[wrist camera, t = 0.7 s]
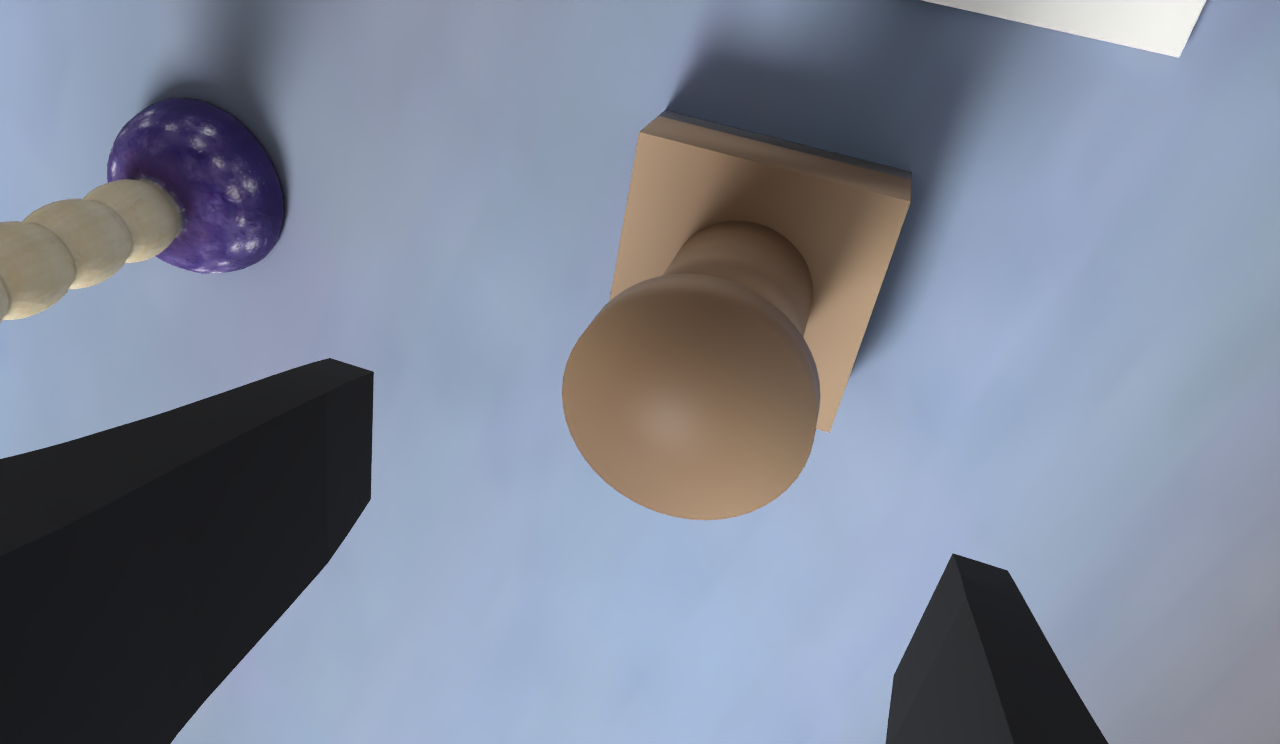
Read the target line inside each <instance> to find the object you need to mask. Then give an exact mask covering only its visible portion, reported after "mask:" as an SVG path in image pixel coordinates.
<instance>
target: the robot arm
mask: <svg viewBox="0 0 1280 744" xmlns="http://www.w3.org/2000/svg"><path fill="white" fill-rule="evenodd" d="M373 376H374V372H372V371H369V370H366V369H363V368H360V367H357V366H353V365H350V364H347V363H344V362H341V361H337V360H334V359H331V358H329V359H325V360H321V361H317V362H314V363H310V364H307V365H303V366H300V367H297V368H294V369H291V370H288V371H285V372H282V373H279V374H276V375H273V376H270V377H267V378H264V379H261V380H258V381H255V382H252V383H250V384H247V385H244V386H241V387H238V388H235V389H232V390H229V391H226V392H223V393H220V394H218V395H215V396H212V397H209V398H206V399H203V400H200V401H197V402H194V403H191V404H188V405H185V406H182V407H179V408H176V409H173V410H170V411H167V412H164V413H161V414H158V415H155V416H152V417H148V418H145V419H142V420H138V421H135V422H132V423H128V424H125V425H122V426H119V427H115V428H112V429H109V430H105V431H102V432H99V433H95V434H92V435H89V436H85V437H82V438H79V439H75V440H72V441H69V442H65V443H62V444H58V445H54V446H51V447H47V448H43V449H39V450H35V451H32V452H28V453H24V454H20V455H16V456H12V457H8V458H3V459H0V744H170V743H171V742H172V741H173V739H174V738H175V737H176V735H177V734H178V733H179V732H180V730H181V729H182V728H183V727H184V726H185V724H186V723H187V722H188V721H189V720H190V718H191V717H192V716H193V715H194V713H195V712H196V711H197V710H198V709H199V707H200V706H201V705H202V704H203V703H204V701H205V700H206V699H207V698H208V697H209V696H210V695H211V694H212V692H213V691H214V690H215V689H216V688H217V687H218V686H219V685H220V684H221V682H222V681H223V680H224V679H225V678H226V677H227V676H228V675H229V674H230V672H231V671H232V670H233V669H234V668H235V667H236V666H237V665H238V663H239V662H240V661H241V660H242V659H243V658H244V657H245V656H246V655H247V653H248V652H249V651H250V650H251V649H252V648H253V647H254V646H255V645H256V643H257V642H258V641H259V640H260V639H261V638H262V637H263V636H264V635H265V633H266V632H267V631H268V630H269V629H270V628H271V627H272V626H273V625H274V623H275V622H276V621H277V620H278V619H279V618H280V617H281V616H282V615H283V613H284V612H285V611H286V610H287V609H288V608H289V607H290V605H291V604H292V603H293V602H294V601H295V600H296V599H297V598H298V596H299V595H300V594H301V593H302V592H303V591H304V590H305V588H306V587H307V586H308V585H309V584H310V583H311V582H312V581H313V579H314V578H315V577H316V576H317V575H318V574H319V572H320V571H321V570H322V569H323V568H324V567H325V565H326V564H327V563H328V562H329V560H330V559H331V557H332V556H333V555H334V553H335V552H336V550H337V549H338V547H339V546H340V545H341V543H342V542H343V540H344V539H345V537H346V536H347V535H348V533H349V532H350V530H351V529H352V527H353V525H354V524H355V522H356V521H357V519H358V518H359V516H360V515H361V513H362V512H363V510H364V509H365V507H366V506H367V504H368V502H369V501H370V499H371V463H372V420H373ZM886 744H1108V742H1107V741H1106V739H1105V737H1104V736H1103V734H1102V733H1101V731H1100V729H1099V728H1098V726H1097V725H1096V723H1095V721H1094V720H1093V718H1092V716H1091V715H1090V713H1089V711H1088V710H1087V708H1086V706H1085V705H1084V703H1083V701H1082V700H1081V698H1080V696H1079V695H1078V693H1077V691H1076V690H1075V688H1074V686H1073V685H1072V683H1071V681H1070V679H1069V678H1068V676H1067V674H1066V673H1065V671H1064V669H1063V667H1062V666H1061V664H1060V662H1059V660H1058V659H1057V657H1056V655H1055V653H1054V652H1053V650H1052V648H1051V646H1050V645H1049V643H1048V641H1047V639H1046V638H1045V636H1044V634H1043V632H1042V630H1041V629H1040V627H1039V625H1038V623H1037V621H1036V620H1035V618H1034V616H1033V614H1032V613H1031V611H1030V609H1029V607H1028V605H1027V604H1026V602H1025V600H1024V598H1023V596H1022V595H1021V593H1020V591H1019V589H1018V587H1017V586H1016V584H1015V582H1014V581H1013V579H1012V577H1011V575H1010V574H1009V572H1008V571H1007V570H1004V569H1001V568H998V567H995V566H991V565H988V564H985V563H982V562H979V561H975V560H972V559H969V558H966V557H963V556H959V555H956V554H952V556H951V558H950V560H949V562H948V564H947V566H946V569H945V571H944V573H943V575H942V577H941V579H940V581H939V583H938V585H937V587H936V589H935V591H934V593H933V595H932V598H931V600H930V602H929V604H928V606H927V608H926V610H925V612H924V614H923V616H922V618H921V620H920V622H919V624H918V626H917V629H916V631H915V633H914V635H913V637H912V639H911V641H910V643H909V645H908V647H907V649H906V651H905V653H904V655H903V658H902V660H901V662H900V664H899V666H898V668H897V670H896V672H895V674H894V679H893V687H892V695H891V703H890V711H889V719H888V728H887V737H886Z"/></svg>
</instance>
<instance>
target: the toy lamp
mask: <svg viewBox="0 0 1280 744" xmlns="http://www.w3.org/2000/svg"><path fill="white" fill-rule="evenodd" d="M107 166H108V167H107V179H108V183H106V184H104V185H101V186H99V187H97V188H95V189H94V190H92V191H91V192H89V193H88V194H87V195H86V196H85V197H84V199H67V200H61V201H57V202H53V203H50V204H48V205H45V206H43V207H41V208H39V209H37V210H35V211H33V212H32V213H31V214H30V215H29V216H27V217H26V218H25V219H24V220H23V221H22V222H18V221H14V222H1V223H0V322H1V321H2V320H14V319H21V318H25V317H29V316H32V315H35V314H37V313H40V312H42V311H44V310H46V309H48V308H49V307H51V306H52V305H54V304H56V303H57V302H58V301H59V300H60V299H61V298H62V297H63V296H64V295H65V294H66V293H67V291H68V289H80V288H85V287H89V286H93V285H96V284H98V283H100V282H103V281H105V280H106V279H108V278H109V277H111V276H113V275H114V274H115V273H116V272H117V271H118V270H119V269H120V268H121V267H122V266H123V265H124V264H125V263H133V262H140V261H143V260H147V259H150V258H152V257H154V256H156V257H158V258H159V259H161V260H163V261H164V262H167V263H169V264H171V265H173V266H176V267H179V268H183V269H186V270H190V271H193V272H199V273H205V274H206V273H224V272H231V271H236V270H240V269H244V268H246V267H248V266H251V265H253V264H255V263H257V262H259V261H260V260H262V259H263V258H264V257H266V255H267V254H268V253H269V252H270V251H271V250H272V248H273V247H274V245H275V244H276V242H277V240H278V238H279V234H280V231H281V226H282V222H283V218H284V212H283V195H282V192H281V188H280V182H279V180H278V178H277V174H276V172H275V170H274V168H273V165H272V163H271V161H270V159H269V157H268V156H267V154H266V152H265V150H264V149H263V148H262V146H261V145H260V144H259V142H258V141H257V140H256V138H255V137H254V136H253V135H252V134H251V132H249V131H248V130H247V129H246V128H245V127H244V126H243V125H242V124H241V123H240V122H238V121H237V120H236V119H235V118H233V117H232V116H231V115H230V114H229V113H227V112H225V111H222V110H221V109H219V108H216V107H214V106H212V105H210V104H208V103H206V102H203V101H199V100H195V99H189V98H170V99H167V100H164V101H161V102H158V103H155V104H153V105H151V106H149V107H147V108H145V109H144V110H143V111H141V112H140V113H138V114H137V115H135V116H134V117H133V118H132V119H131V120H130V121H129V122H127V124H126V125H125V126H124V127H123V128H122V130H121V131H120V132H119V134H118V136H117V137H116V139H115V142H114V144H113V147H112V149H111V152H110V155H109V160H108V164H107Z"/></svg>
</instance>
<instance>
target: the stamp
mask: <svg viewBox="0 0 1280 744" xmlns="http://www.w3.org/2000/svg"><path fill="white" fill-rule="evenodd" d="M910 203H911V172H909V171H905V170H901V169H897V168H893V167H889V166H885V165H881V164H877V163H873V162H869V161H865V160H861V159H857V158H853V157H849V156H845V155H841V154H837V153H833V152H829V151H825V150H821V149H817V148H813V147H809V146H805V145H801V144H797V143H793V142H789V141H785V140H781V139H777V138H773V137H769V136H765V135H761V134H757V133H754V132H750V131H746V130H742V129H738V128H734V127H730V126H726V125H722V124H718V123H714V122H710V121H706V120H702V119H698V118H694V117H690V116H686V115H682V114H678V113H674V112H670V111H666V110H665V111H664V112H662V113H661V114H660V115H659V116H658V117H656V118H655V119H654V120H653V121H652V122H651V123H649V124H648V125H647V126H646V127H645V128H644V129H642V130H641V131H640V132H639V137H638V143H637V148H636V154H635V160H634V165H633V171H632V177H631V183H630V188H629V194H628V200H627V205H626V211H625V217H624V222H623V228H622V234H621V239H620V245H619V251H618V256H617V262H616V268H615V273H614V279H613V285H612V290H611V296H610V302H608V303H607V304H606V305H605V306H604V307H603V309H602V310H601V311H600V312H599V313H598V315H597V316H596V317H595V318H594V320H593V321H592V322H591V324H590V325H589V326H588V328H587V329H586V330H585V331H584V333H583V334H582V335H581V337H580V338H579V339H578V341H577V343H576V344H575V346H574V348H573V350H572V351H571V354H570V356H569V359H568V361H567V364H566V368H565V372H564V376H563V386H562V399H563V409H564V414H565V418H566V422H567V425H568V428H569V431H570V434H571V436H572V438H573V440H574V442H575V444H576V446H577V448H578V449H579V451H580V452H581V454H582V455H583V457H584V459H585V460H586V461H587V462H588V464H589V465H590V466H591V467H592V469H593V470H594V471H595V472H596V473H597V474H598V475H599V476H600V477H601V478H602V479H603V480H604V481H605V482H606V483H607V484H609V485H610V486H611V487H613V488H614V489H615V490H616V491H618V492H619V493H621V494H622V495H624V496H625V497H627V498H629V499H630V500H632V501H634V502H636V503H638V504H640V505H642V506H644V507H646V508H648V509H651V510H654V511H656V512H659V513H662V514H666V515H670V516H674V517H679V518H685V519H693V520H717V519H725V518H731V517H737V516H740V515H743V514H746V513H750V512H752V511H754V510H757V509H759V508H761V507H763V506H765V505H767V504H768V503H770V502H771V501H773V500H775V499H776V498H777V497H779V496H780V495H781V494H782V493H783V492H785V491H786V490H787V489H788V488H789V487H790V486H791V484H792V483H793V482H794V481H795V480H796V479H797V477H798V476H799V474H800V473H801V471H802V469H803V468H804V466H805V464H806V462H807V459H808V457H809V455H810V452H811V448H812V444H813V441H814V436H815V431H816V429H819V430H822V431H826V432H829V433H830V430H831V427H832V424H833V422H834V419H835V416H836V413H837V410H838V407H839V405H840V402H841V399H842V396H843V393H844V390H845V387H846V385H847V382H848V379H849V376H850V373H851V370H852V368H853V365H854V362H855V359H856V356H857V353H858V350H859V348H860V345H861V342H862V339H863V336H864V333H865V331H866V328H867V325H868V322H869V319H870V316H871V313H872V311H873V308H874V305H875V302H876V299H877V296H878V294H879V291H880V288H881V285H882V282H883V279H884V277H885V274H886V271H887V268H888V265H889V262H890V259H891V257H892V254H893V251H894V248H895V245H896V242H897V240H898V237H899V234H900V231H901V228H902V225H903V222H904V220H905V217H906V214H907V211H908V208H909V205H910Z"/></svg>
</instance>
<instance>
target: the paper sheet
mask: <svg viewBox="0 0 1280 744" xmlns="http://www.w3.org/2000/svg"><path fill="white" fill-rule="evenodd" d="M922 1H927V2H931V3H936V4H940V5H945V6H949V7H954V8H958V9H963V10H967V11H972V12H976V13H981V14H985V15H990V16H994V17H999V18H1003V19H1008V20H1012V21H1017V22H1021V23H1026V24H1030V25H1035V26H1039V27H1044V28H1048V29H1053V30H1057V31H1062V32H1066V33H1071V34H1075V35H1080V36H1084V37H1089V38H1093V39H1098V40H1102V41H1107V42H1111V43H1116V44H1120V45H1125V46H1129V47H1134V48H1138V49H1143V50H1147V51H1152V52H1156V53H1161V54H1165V55H1170V56H1174V57H1180V55H1181V52H1182V50H1183V48H1184V46H1185V44H1186V42H1187V40H1188V38H1189V36H1190V34H1191V31H1192V29H1193V27H1194V25H1195V23H1196V21H1197V19H1198V17H1199V15H1200V12H1201V10H1202V8H1203V6H1204V4H1205V2H1206V0H922Z"/></svg>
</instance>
